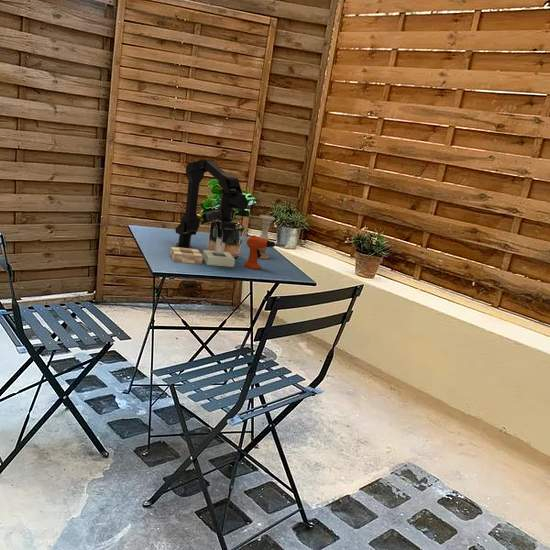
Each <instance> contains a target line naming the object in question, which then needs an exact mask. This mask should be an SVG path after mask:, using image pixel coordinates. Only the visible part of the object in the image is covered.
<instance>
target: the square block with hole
mask: <svg viewBox="0 0 550 550" xmlns="http://www.w3.org/2000/svg"><path fill="white" fill-rule="evenodd" d="M214 253H215V250H208V249H202V253H201V255H202V256H203V258H202V260H203V261H204V262H205V264H206V265H209V266H218V267H219V266H220V267H229V268H230V267H231V268H235V263H236V259H235V257H234V256H233V255H232V254H231V253H230V252H229V251H224V253H223V257H222V256H214Z"/></svg>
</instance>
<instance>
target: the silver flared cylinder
mask: <svg viewBox="0 0 550 550" xmlns="http://www.w3.org/2000/svg"><path fill="white" fill-rule="evenodd" d="M214 247H215V248H214V251H215V253H214V256H222V257H223V253H224V252H225V247H226V242H225V243H223V242H222V236H221V237H218V236H217V237H216V240H215V246H214Z"/></svg>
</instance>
